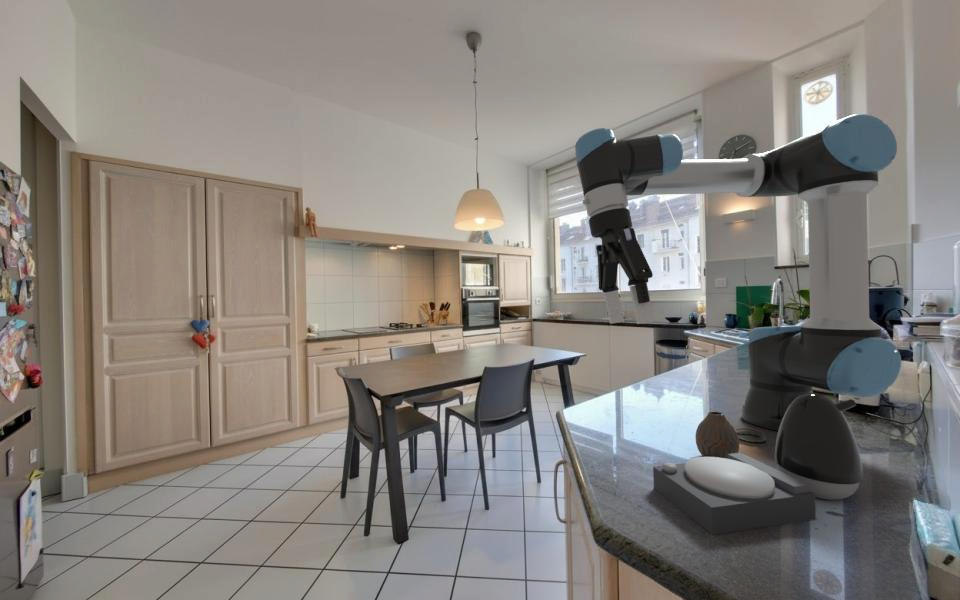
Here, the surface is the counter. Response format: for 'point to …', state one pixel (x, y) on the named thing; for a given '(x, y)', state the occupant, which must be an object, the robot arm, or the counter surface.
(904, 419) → the counter surface
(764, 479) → the turntable with oval dome
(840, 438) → the pump dispenser
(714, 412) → the vase
